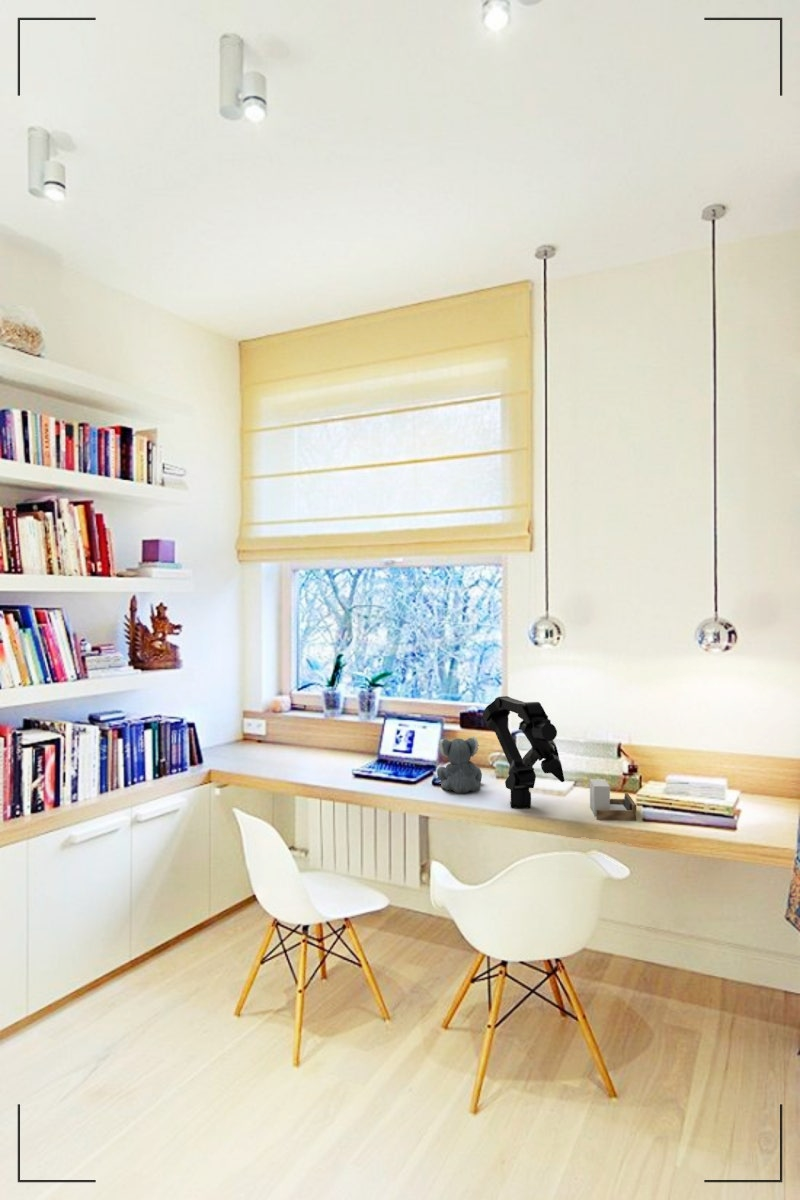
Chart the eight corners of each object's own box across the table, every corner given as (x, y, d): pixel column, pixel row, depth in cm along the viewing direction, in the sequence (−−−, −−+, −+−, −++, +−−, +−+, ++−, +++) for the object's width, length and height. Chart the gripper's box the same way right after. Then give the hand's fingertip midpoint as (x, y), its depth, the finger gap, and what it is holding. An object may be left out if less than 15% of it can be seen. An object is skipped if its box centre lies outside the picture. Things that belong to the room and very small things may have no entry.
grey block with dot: (594, 816, 250) (594, 786, 250) (590, 807, 260) (589, 778, 259) (628, 817, 249) (628, 786, 249) (622, 808, 259) (622, 779, 258)
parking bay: (597, 819, 246) (596, 804, 246) (590, 807, 260) (590, 792, 260) (636, 820, 245) (636, 805, 245) (627, 807, 259) (627, 793, 259)
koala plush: (481, 782, 296) (480, 732, 295) (485, 794, 278) (485, 741, 277) (436, 782, 296) (436, 732, 296) (438, 795, 278) (437, 741, 278)
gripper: (515, 740, 265) (538, 776, 267) (518, 760, 247) (543, 799, 249) (542, 724, 263) (566, 760, 265) (547, 744, 245) (573, 783, 246)
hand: (561, 775), depth 256 cm, fingers open, 9 cm apart
